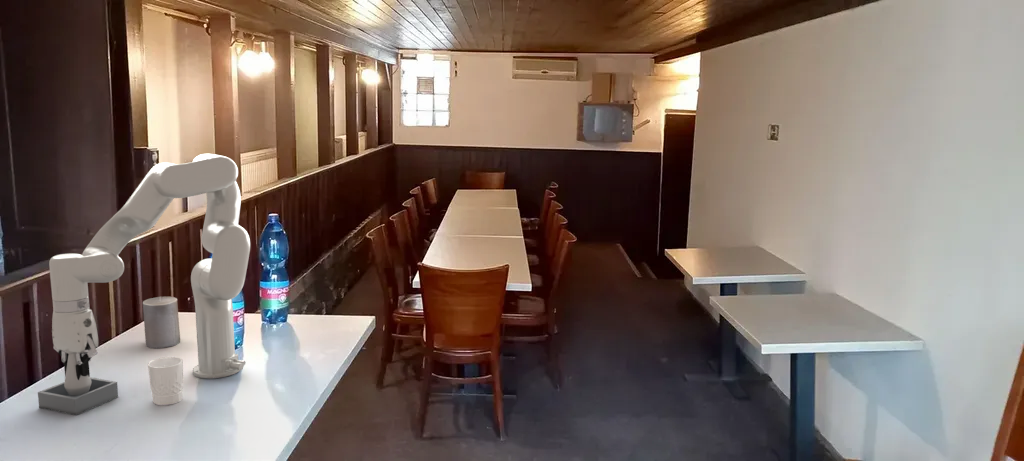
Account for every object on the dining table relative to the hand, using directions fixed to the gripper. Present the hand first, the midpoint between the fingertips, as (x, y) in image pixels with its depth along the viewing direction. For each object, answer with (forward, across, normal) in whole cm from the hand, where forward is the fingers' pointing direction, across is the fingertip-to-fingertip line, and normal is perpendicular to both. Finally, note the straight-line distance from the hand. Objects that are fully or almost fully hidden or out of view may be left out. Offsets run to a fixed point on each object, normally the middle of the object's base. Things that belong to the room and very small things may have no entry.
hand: (77, 376), depth 182 cm
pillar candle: (+7, +16, -43) cm, 46 cm away
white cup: (+7, -19, -9) cm, 22 cm away
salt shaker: (+4, 0, 0) cm, 4 cm away
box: (+7, 0, 0) cm, 7 cm away
